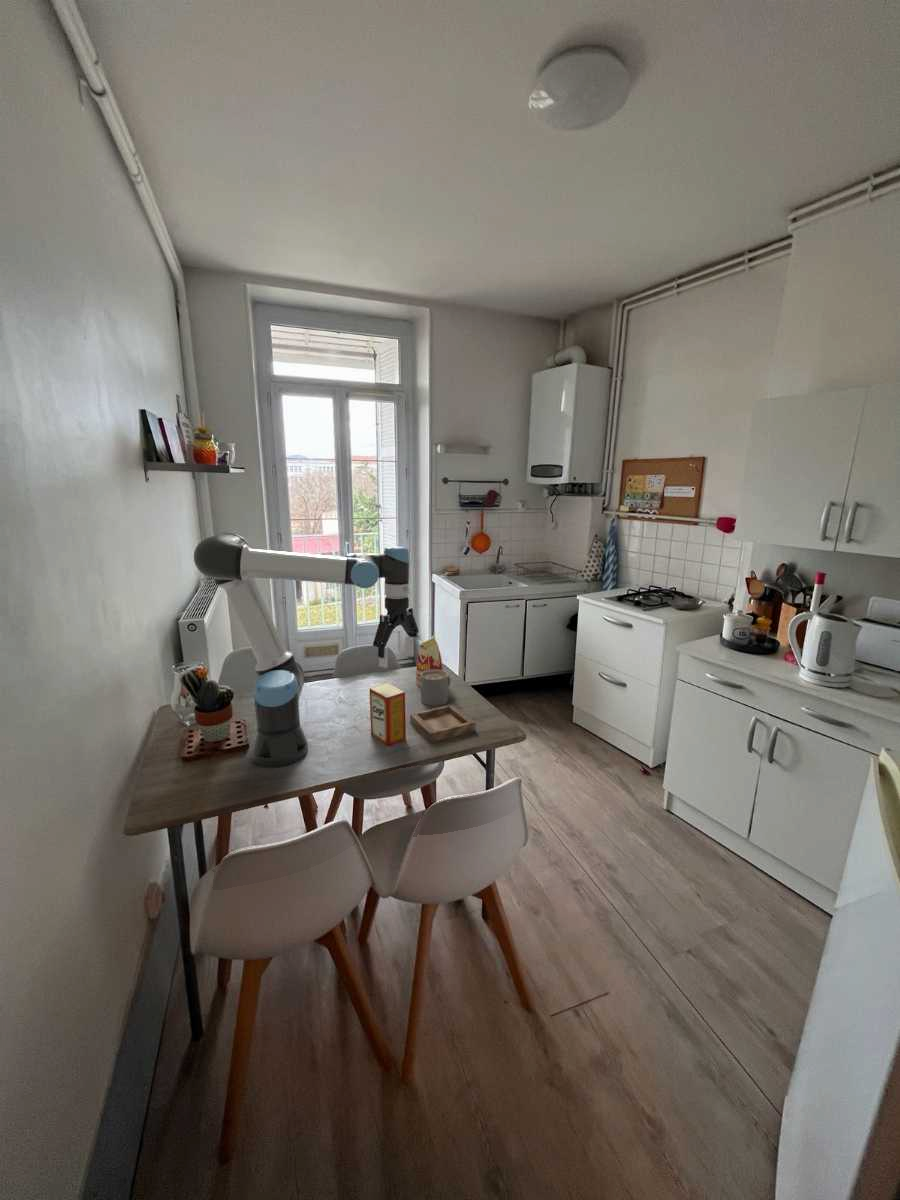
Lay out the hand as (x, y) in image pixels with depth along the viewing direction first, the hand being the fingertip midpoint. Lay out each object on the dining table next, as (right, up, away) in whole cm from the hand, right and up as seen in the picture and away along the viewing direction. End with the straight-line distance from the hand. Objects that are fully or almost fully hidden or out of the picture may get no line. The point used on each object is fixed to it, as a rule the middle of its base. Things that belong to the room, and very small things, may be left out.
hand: (396, 660), depth 156 cm
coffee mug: (+13, -17, +23) cm, 31 cm away
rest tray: (+15, -22, +2) cm, 26 cm away
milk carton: (+9, -14, +36) cm, 39 cm away
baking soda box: (-2, -23, -5) cm, 24 cm away
